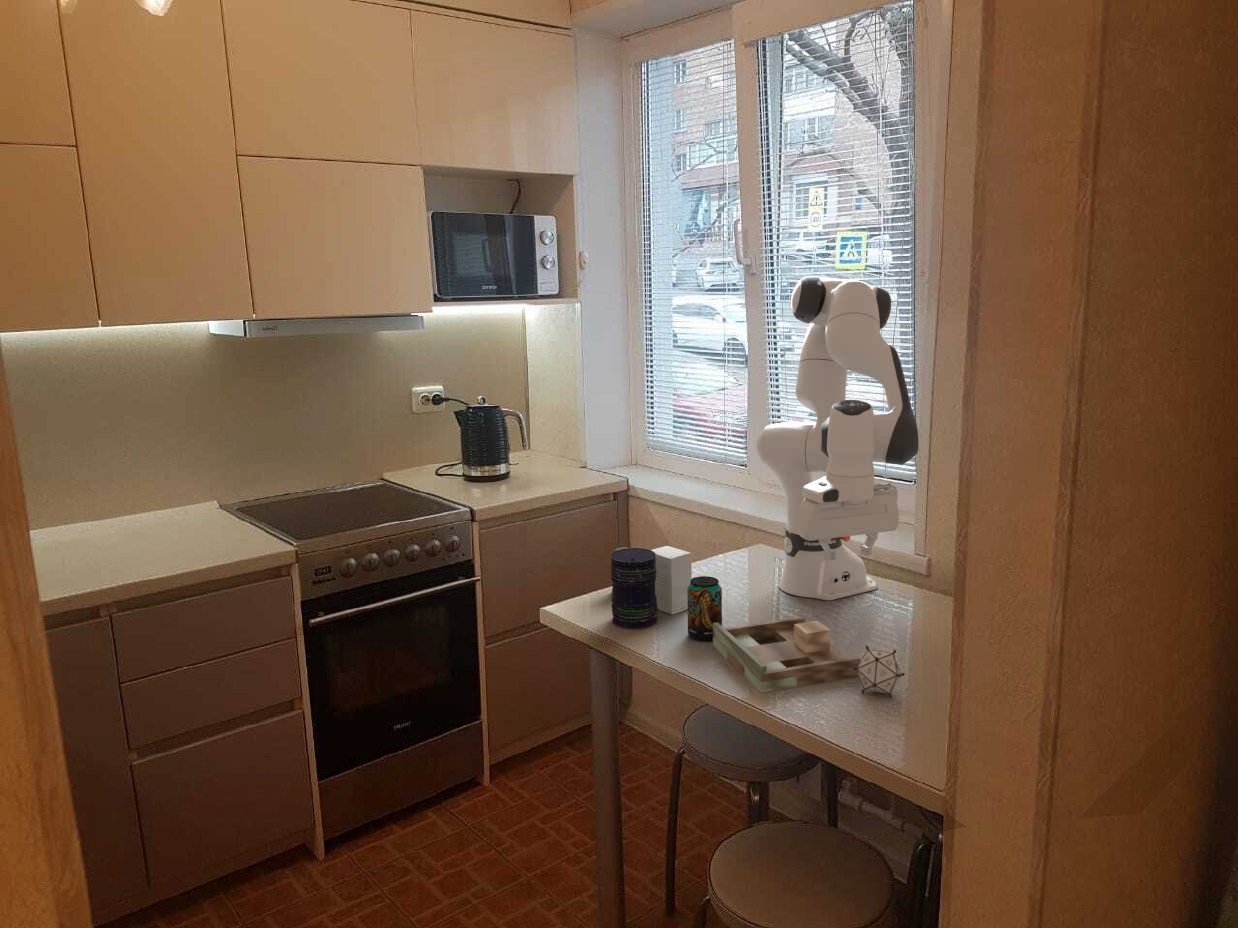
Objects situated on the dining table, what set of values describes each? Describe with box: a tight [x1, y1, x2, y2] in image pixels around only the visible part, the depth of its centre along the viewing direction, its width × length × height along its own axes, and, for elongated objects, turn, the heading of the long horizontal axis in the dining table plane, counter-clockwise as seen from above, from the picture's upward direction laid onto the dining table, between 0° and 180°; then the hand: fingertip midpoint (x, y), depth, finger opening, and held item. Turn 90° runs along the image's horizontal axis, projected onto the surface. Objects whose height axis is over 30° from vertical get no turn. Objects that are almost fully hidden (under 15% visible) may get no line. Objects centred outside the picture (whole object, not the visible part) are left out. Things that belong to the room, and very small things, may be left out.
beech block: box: [794, 620, 831, 653], centre depth 178 cm, size 5×5×4 cm
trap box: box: [712, 616, 862, 694], centre depth 177 cm, size 20×22×5 cm
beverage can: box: [687, 575, 723, 642], centre depth 189 cm, size 7×7×12 cm
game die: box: [852, 644, 906, 699], centre depth 162 cm, size 9×8×10 cm
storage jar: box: [610, 547, 658, 630], centre depth 197 cm, size 10×10×15 cm
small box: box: [650, 545, 693, 616], centre depth 205 cm, size 8×6×13 cm
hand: (847, 557), depth 177 cm, fingers open, 6 cm apart
